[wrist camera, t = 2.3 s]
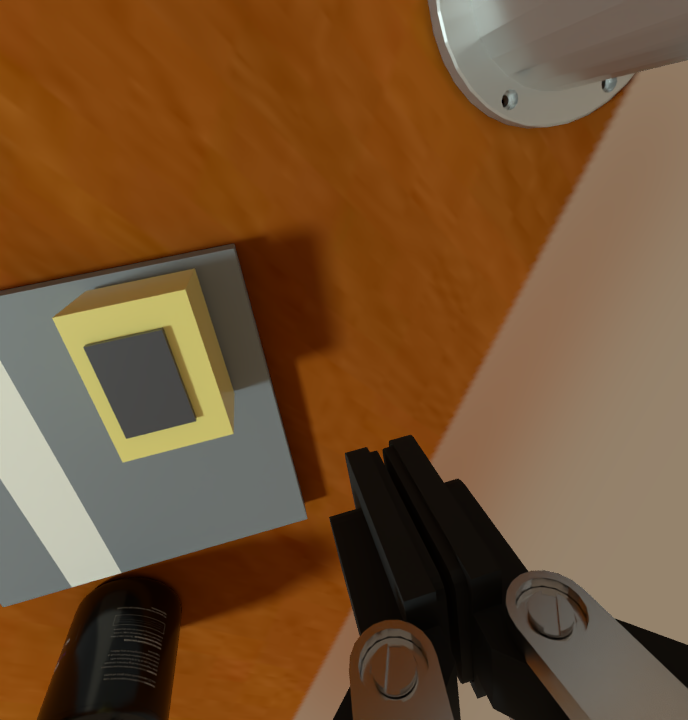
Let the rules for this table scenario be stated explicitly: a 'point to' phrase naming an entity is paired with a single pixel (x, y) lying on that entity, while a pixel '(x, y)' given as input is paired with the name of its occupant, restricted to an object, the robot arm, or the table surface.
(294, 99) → the table surface
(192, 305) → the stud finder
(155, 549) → the board
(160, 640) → the supplement bottle
